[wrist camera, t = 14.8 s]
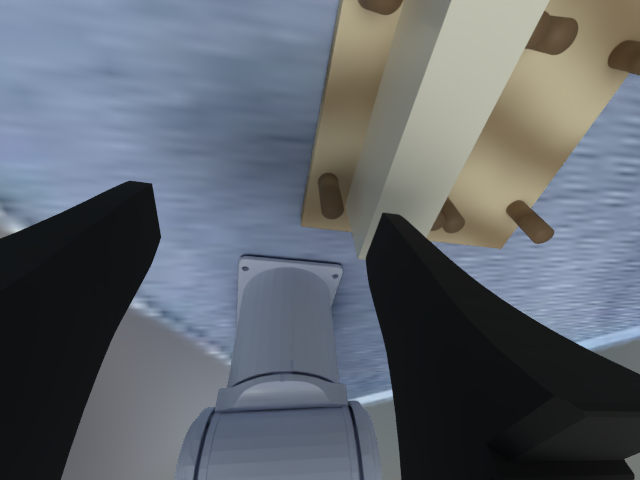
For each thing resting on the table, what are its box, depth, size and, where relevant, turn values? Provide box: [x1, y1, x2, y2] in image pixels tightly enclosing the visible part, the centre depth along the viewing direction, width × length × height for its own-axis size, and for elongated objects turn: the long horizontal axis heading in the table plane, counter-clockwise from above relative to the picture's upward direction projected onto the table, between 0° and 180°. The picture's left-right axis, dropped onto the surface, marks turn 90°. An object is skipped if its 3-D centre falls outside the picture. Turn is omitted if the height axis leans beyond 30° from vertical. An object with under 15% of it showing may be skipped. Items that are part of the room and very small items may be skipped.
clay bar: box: [345, 0, 550, 260], centre depth 14 cm, size 12×3×5 cm, turn 169°
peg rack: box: [301, 0, 640, 249], centre depth 16 cm, size 16×15×4 cm
